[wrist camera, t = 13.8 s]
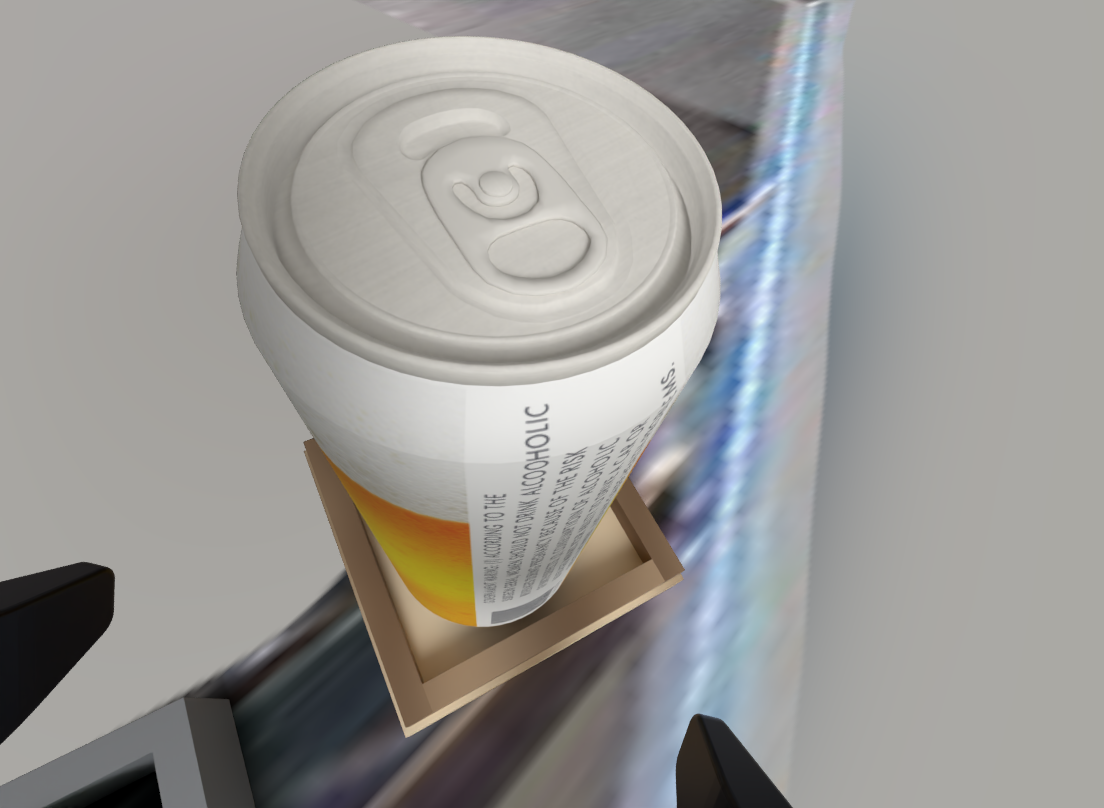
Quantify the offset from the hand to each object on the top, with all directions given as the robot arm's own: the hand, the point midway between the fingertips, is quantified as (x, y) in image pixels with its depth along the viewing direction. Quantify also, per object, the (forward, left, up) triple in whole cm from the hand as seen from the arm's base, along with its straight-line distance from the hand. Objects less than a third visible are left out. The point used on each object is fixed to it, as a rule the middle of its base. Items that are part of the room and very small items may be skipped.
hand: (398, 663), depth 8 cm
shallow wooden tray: (+4, +4, -11) cm, 12 cm away
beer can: (+3, +4, -10) cm, 11 cm away
